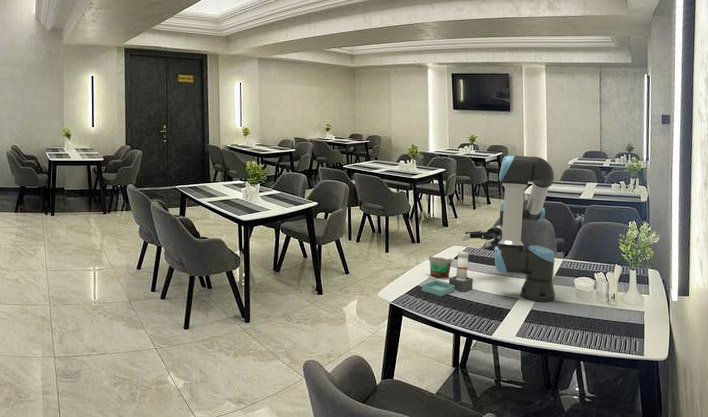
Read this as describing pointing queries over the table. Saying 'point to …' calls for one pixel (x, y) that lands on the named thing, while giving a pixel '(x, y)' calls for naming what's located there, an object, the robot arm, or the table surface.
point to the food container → (440, 267)
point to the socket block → (461, 284)
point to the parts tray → (438, 288)
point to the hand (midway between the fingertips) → (474, 241)
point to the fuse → (462, 266)
